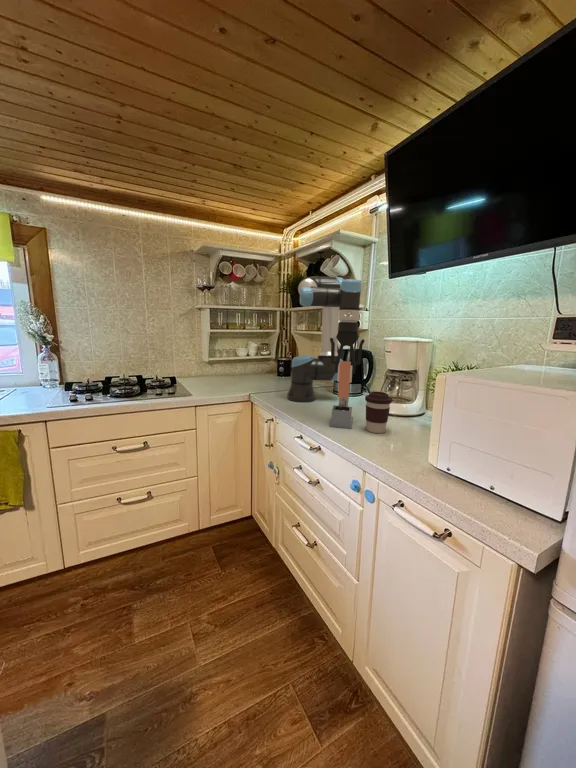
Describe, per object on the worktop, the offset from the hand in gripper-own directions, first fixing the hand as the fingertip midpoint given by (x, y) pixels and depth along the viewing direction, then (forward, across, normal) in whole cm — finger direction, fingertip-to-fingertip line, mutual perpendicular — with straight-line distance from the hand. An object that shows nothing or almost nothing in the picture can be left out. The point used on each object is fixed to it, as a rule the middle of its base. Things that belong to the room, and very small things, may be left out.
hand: (344, 381), depth 127 cm
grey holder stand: (+18, 0, +4) cm, 19 cm away
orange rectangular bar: (+6, 0, 0) cm, 6 cm away
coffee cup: (+18, +13, -2) cm, 23 cm away
